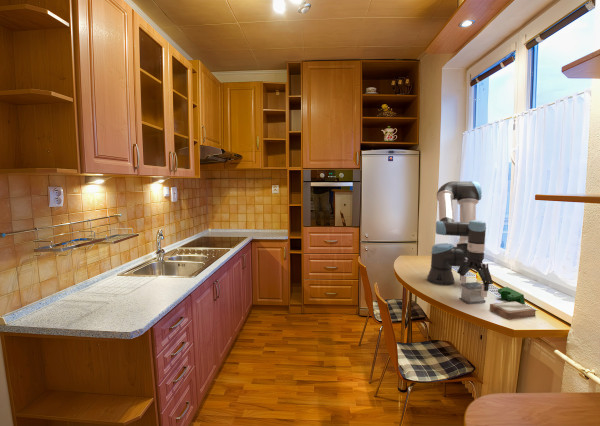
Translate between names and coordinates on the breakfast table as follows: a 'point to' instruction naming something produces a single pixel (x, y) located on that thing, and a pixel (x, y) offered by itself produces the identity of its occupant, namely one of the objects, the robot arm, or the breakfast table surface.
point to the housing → (471, 293)
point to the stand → (512, 310)
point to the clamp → (511, 295)
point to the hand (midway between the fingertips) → (473, 292)
